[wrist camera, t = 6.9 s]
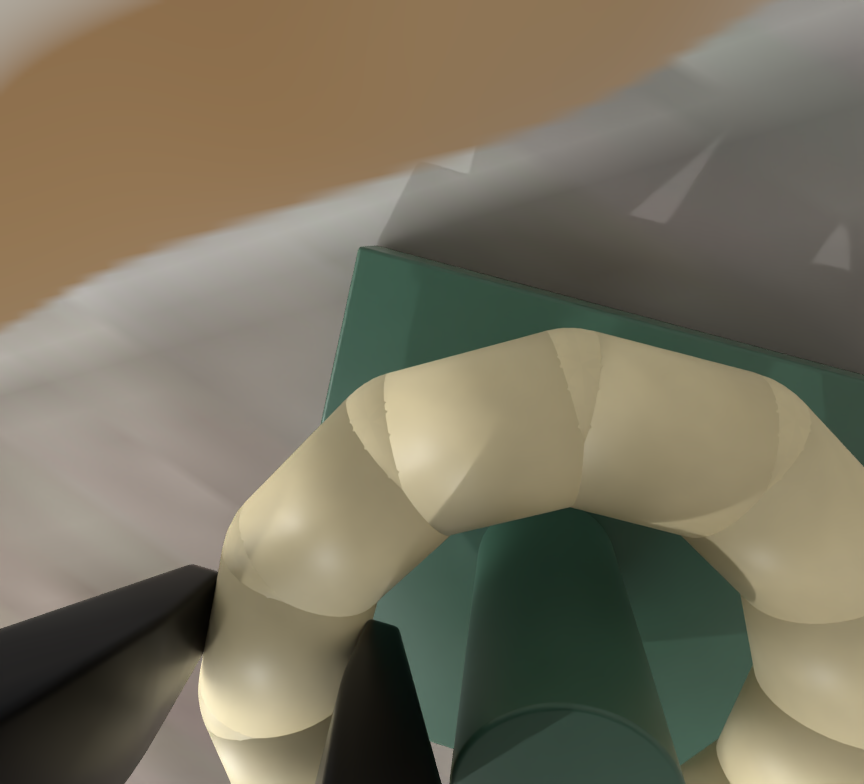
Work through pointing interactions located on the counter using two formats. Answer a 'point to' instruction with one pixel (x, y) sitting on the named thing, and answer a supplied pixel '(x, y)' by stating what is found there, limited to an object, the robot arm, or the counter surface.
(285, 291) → the counter surface
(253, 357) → the counter surface
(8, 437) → the counter surface
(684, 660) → the stand
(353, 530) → the ring
